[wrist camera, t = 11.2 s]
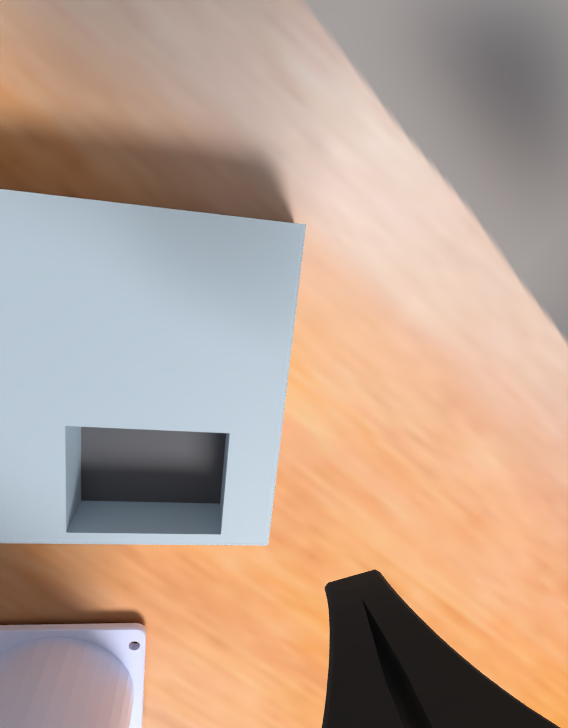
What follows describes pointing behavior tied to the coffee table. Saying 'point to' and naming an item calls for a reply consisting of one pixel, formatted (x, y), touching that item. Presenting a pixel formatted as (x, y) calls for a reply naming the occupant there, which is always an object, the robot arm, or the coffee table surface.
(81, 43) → the coffee table surface
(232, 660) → the coffee table surface
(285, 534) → the coffee table surface
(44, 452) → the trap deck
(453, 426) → the coffee table surface
